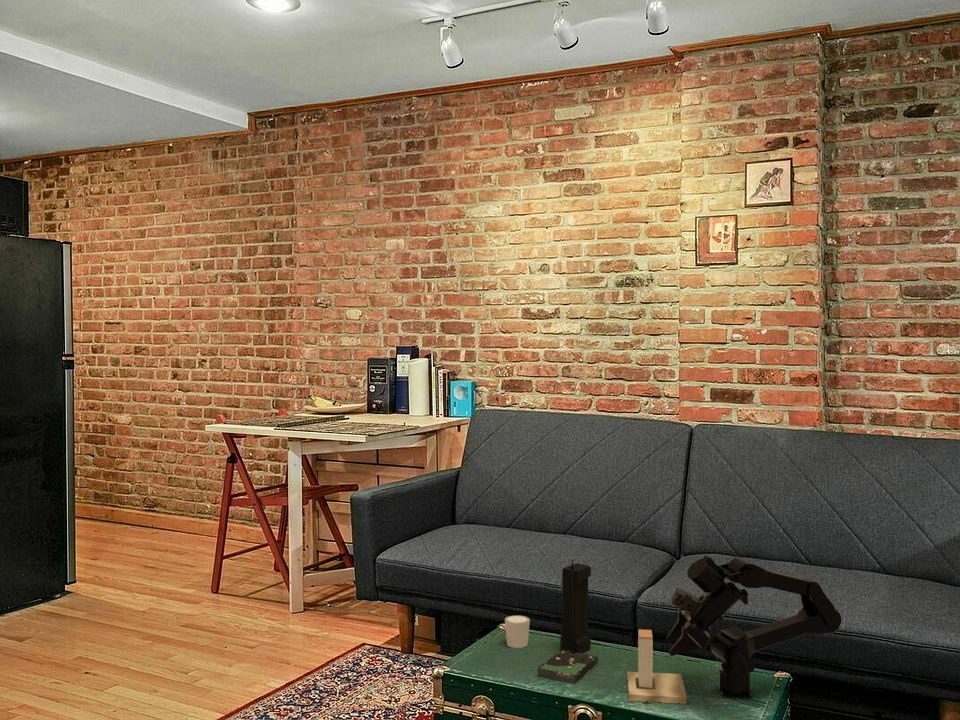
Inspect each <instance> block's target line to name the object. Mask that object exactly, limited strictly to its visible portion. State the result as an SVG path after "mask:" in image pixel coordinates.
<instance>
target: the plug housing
mask: <svg viewBox="0 0 960 720" xmlns="http://www.w3.org/2000/svg"><path fill="white" fill-rule="evenodd" d="M637 636H638V637H637V639H638V640H637V643H638V645H637V647H638V649H637V650H638V652H637V655H638V656H637V658H638V659H637V664H638V666H637V668H638V669H637V672H638V681H639V687H645V688H652V681H653V673H654V672H653V667H654V666H653V659H654V658H653V657H654V656H653V651H654V650H653V647H654V646H653V645H654V644H653V642H654V641H653V639H654V638H653V632H652V629H638V635H637Z"/></svg>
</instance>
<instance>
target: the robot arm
mask: <svg viewBox="0 0 960 720" xmlns="http://www.w3.org/2000/svg"><path fill="white" fill-rule="evenodd" d="M686 576H687V577H688V579H689V580H690V581H692V582H693V583H694V584H695V585H696V586H697V587H698V588H699V589H700V590H701V591H703V593H705V594H701V595H700V596H698V597H697V596H696V595H693V594H691V593H690V592H688V591H685V590H684V589H682V588H680V587H675V590H674V592H673V594H672V596H671V598H670V600H671V604H672V605H673V606H674V607H677V608H678V607H679V608H678V609H677V611H678V613H677V615H678V617H677V620H676V622H675V624H674V625H673V627H672V629H671V630H670V632H669V634H668V635H667V637H666V641H667V642H668V643H672V642H674V641H676V640H677V641H676V642H675V643H674V645H673V646H671V648H670V649H669V651H668V655H670V656H671V657H675V656H678V655H680V654H685V653H688V652H692V651H696V650H697V651H698V650H706V649H707V648H708V647H709V646H710V650H711V652H712V654H713V655H714V656H715V657H716V660H717V662H719V663H720V669H719V670H717V671H718V677H717V678H718V679H717V680H718V681H717V682H718V689H719V691H720V692H721V694H722V697H725V698H745V699H746V698H748V699H751V698H752V693H751V691H750V690H751V687H750V686H751V683H750V681H751V673H754V671H755V669H756V665H757V664H756V661H754V660H753V659H752V657H753V655H754V653H756V652H758V651H760V650H763V649H766V648H769V647H773V646H775V645H778V644H780V643H783V642H788V641H789V640H792V639H796V638H798V637H800V636H805V635H807V634H809V635H810V634H811V635H826V634H827V635H828V634H834V633H835V632H838V631H839V630H840V627H841V625H842V616H841V613H840V612H839V610H836V607H835V606H834V604H833V602H831V600H830V599H829V597H827V595H826V594H825V592H824V590H823V588H822V587H821V585H820V584H819V583H818V582H817V581H814V580H812V579H809V578H808V577H800V576H795V575H791V574H786V573H782V572H778V571H774V570H770V569H766V568H763V567H761V566H759V565H756V564H755V563H753V562H751V561H748V560H746V559H743V558H741V557H734V558H732V559H731V560H730V561H729V562H726V563H723V564H719V565H717V563H715V561H714V560H713V558H712V557H710V556H708V555H704V556H703V557H702V558H700V559H697V560H696V561H695V562H693V563H691V564H690V566H689V567H688V569H687V575H686ZM725 579H726V580H729V581H728V582H727V581H726V580H725ZM737 584H738V585H740V586H742V587H744V588H743V589H741V588H739V587H738V586H737ZM745 588H748V589H761V588H769V589H770V588H771V589H775V590H779V591H784V592H787V593H791V594H796V595H799V597H800V604H801V605H802V607H801V609H800V610H799V611H798V613H796V614H795V615H792V616H789V617H786V618H783V619H781V620H778V621H775V622H774V621H773V622H771V623H768V624H766V625H762V626H759V627H756V628H753V629H749V630H748V631H743V630H742V629H740V628H738V627H737V626H735V625H733V626H730V627H729V628H726V629H720V630H719V632H718V633H717V634H715V635H713V637H712V639H711V638H710V634H709V632H710V631H711V627H712V626H713V625H714V624H715V623H716V622H717V621H720V622H721V621H722V620H724V615H725V614H726V613H727V612H728V611H729V610H730V609H732V607H733V606H735V605H736V604H737V603H738V602H739V601H740V602H742V603H743V604H744V605H745V606H747V605H749V600H748V597H749V592H748V591H747V589H745Z"/></svg>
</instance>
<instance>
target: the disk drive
mask: <svg viewBox="0 0 960 720" xmlns="http://www.w3.org/2000/svg"><path fill="white" fill-rule="evenodd" d="M597 663H599V657H598V655H592V654H587V653H578V652H577V653H574V654H573V653H571V652H570V651H568V650H561V649H560V650H559V651H557V653H555V654H554V655H553V656H551V657H550V658H549V659H547V660H546V661H544V662H543V663H542V664H541V665H540V666H538V667H537V677H539V678H544V679H548V680H553V681H557V682H562V681H563V683H567V682H569V683H568V684H571V683H573V684H572V685H576V684H577V683H578V682H579V681H581V679H583V678H584V677H585V676H586V675H587V674H588V673H587V672H588V671H589V670H591V669H592V668H593V667H594V666H595V665H596V664H597ZM593 669H594V668H593ZM593 669H592V670H593ZM592 670H591V671H592ZM586 673H587V674H586ZM585 674H586V675H585ZM584 675H585V676H584ZM583 676H584V677H583ZM582 677H583V678H582ZM580 678H581V679H580ZM578 680H579V681H578ZM577 681H578V682H577ZM576 682H577V683H576ZM575 683H576V684H575Z"/></svg>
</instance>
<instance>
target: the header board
mask: <svg viewBox="0 0 960 720" xmlns="http://www.w3.org/2000/svg"><path fill="white" fill-rule="evenodd" d="M626 673H627V675H626V677H627V679H626V680H628V681H627V688H628V689H627V691H629V692H628V700H629V702H637V701H641V702H642V701H643V703H645V702H646V701H648V702H646V703H657V702H661V703H660V704H662V703H664V704H677V703H680V704H681V703H682V705H687V703H688V701H687V700H688V699H687V694H686V693H687V692H686V689H685V685H684V681H683V677H682V676H683V675H682V674H681V673H670V672H669V673H667V672H653V681H652V688H645V687H639V681H638V671H626ZM680 704H679V705H680Z"/></svg>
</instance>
